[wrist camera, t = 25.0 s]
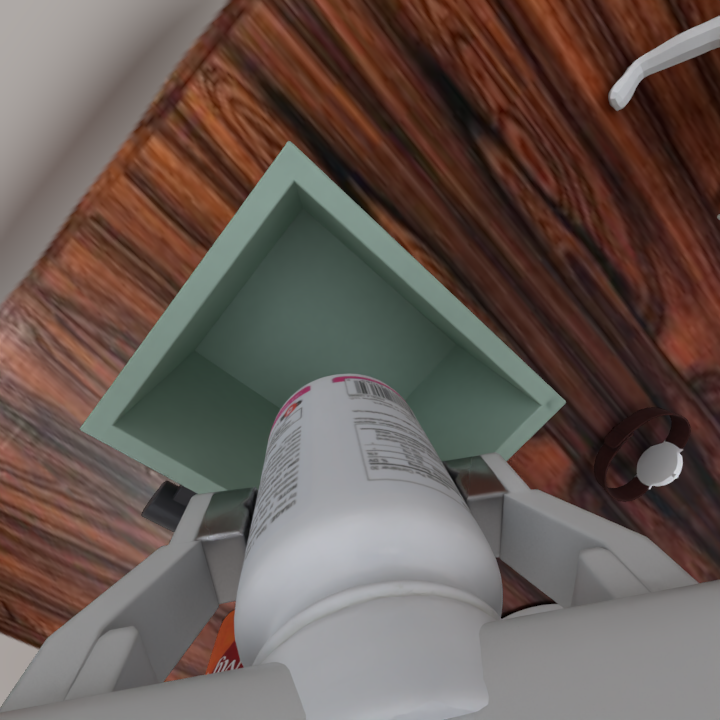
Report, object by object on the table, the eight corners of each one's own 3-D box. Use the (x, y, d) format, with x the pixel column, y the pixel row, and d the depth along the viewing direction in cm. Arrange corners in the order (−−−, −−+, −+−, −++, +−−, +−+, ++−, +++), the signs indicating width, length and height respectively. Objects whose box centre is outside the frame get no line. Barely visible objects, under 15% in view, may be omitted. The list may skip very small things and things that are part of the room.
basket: (468, 339, 24) (325, 494, 27) (300, 187, 20) (150, 387, 23) (567, 402, 15) (331, 633, 17) (289, 139, 11) (33, 492, 13)
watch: (614, 491, 30) (653, 523, 27) (573, 471, 29) (608, 503, 25) (676, 415, 28) (725, 439, 25) (635, 391, 27) (681, 413, 24)
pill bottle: (305, 515, 13) (291, 969, 5) (245, 403, 11) (76, 804, 3) (431, 467, 13) (625, 841, 5) (389, 347, 11) (573, 612, 3)
